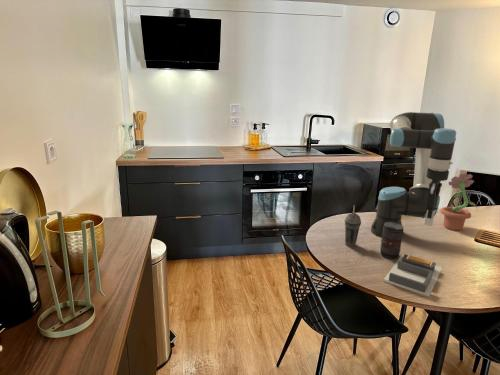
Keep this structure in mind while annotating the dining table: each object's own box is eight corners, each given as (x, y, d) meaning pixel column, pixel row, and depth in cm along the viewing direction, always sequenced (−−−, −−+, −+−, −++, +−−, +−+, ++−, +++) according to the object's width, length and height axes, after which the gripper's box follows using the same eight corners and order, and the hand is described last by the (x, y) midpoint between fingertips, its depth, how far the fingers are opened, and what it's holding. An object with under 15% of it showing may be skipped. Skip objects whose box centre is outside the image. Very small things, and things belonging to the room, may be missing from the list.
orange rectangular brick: (406, 264, 142) (407, 258, 141) (408, 261, 145) (409, 255, 144) (428, 270, 138) (429, 264, 137) (429, 267, 140) (430, 261, 139)
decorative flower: (463, 223, 187) (475, 170, 179) (474, 234, 174) (487, 177, 166) (434, 221, 190) (444, 168, 181) (443, 231, 177) (454, 175, 168)
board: (383, 281, 132) (384, 272, 131) (400, 257, 150) (402, 249, 149) (429, 296, 123) (431, 287, 121) (441, 269, 141) (443, 260, 140)
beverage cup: (359, 243, 163) (364, 203, 157) (357, 249, 157) (362, 208, 151) (343, 240, 166) (347, 200, 160) (340, 246, 160) (345, 205, 154)
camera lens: (398, 263, 145) (402, 230, 140) (377, 259, 149) (381, 226, 144) (400, 255, 151) (405, 224, 147) (381, 251, 155) (385, 220, 151)
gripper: (446, 173, 128) (435, 232, 135) (452, 167, 138) (441, 221, 145) (424, 170, 132) (414, 227, 139) (431, 164, 142) (422, 217, 149)
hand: (428, 224), depth 142 cm, fingers closed
